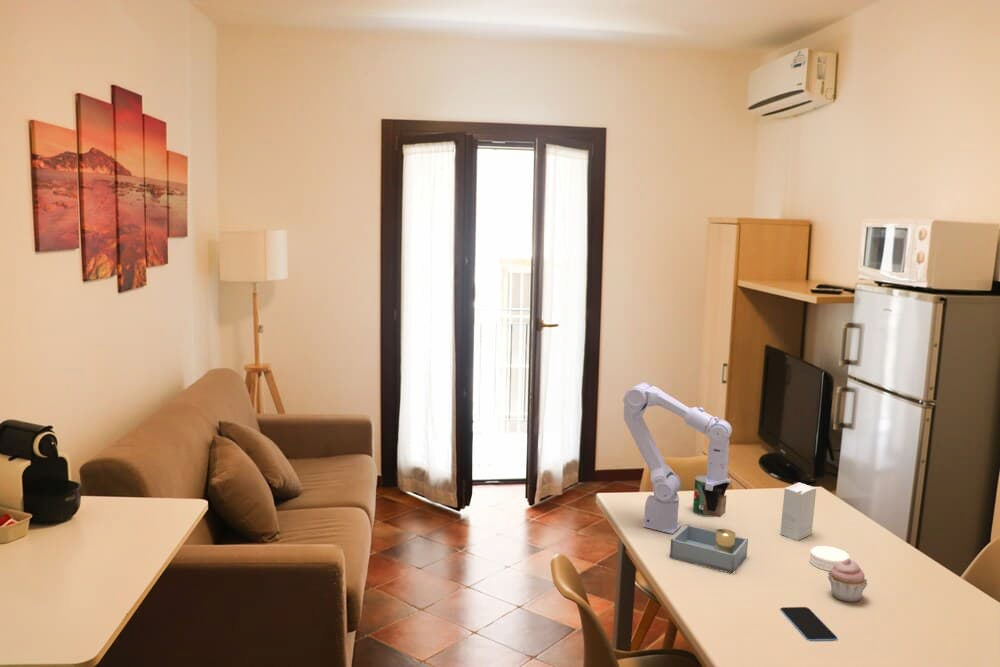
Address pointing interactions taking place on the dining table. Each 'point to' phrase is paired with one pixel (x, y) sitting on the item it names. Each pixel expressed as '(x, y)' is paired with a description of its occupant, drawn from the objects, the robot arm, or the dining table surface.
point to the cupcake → (847, 581)
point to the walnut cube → (719, 509)
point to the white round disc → (827, 557)
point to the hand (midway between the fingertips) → (714, 507)
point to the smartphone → (808, 624)
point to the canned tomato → (699, 495)
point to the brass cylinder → (725, 540)
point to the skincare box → (798, 511)
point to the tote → (706, 549)
